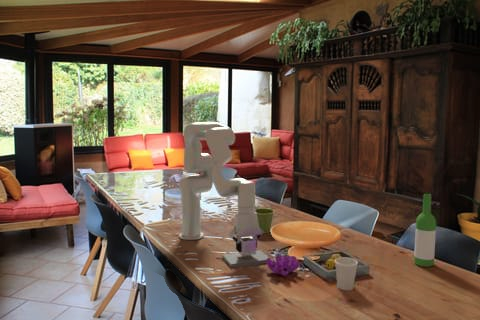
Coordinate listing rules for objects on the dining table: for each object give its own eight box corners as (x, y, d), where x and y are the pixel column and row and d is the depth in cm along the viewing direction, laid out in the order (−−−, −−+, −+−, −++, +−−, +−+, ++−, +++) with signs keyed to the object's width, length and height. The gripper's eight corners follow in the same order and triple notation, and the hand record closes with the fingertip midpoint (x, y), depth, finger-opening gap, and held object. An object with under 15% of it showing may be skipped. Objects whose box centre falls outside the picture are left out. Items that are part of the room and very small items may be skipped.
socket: (237, 251, 187) (237, 237, 186) (250, 249, 189) (250, 236, 188) (242, 256, 181) (242, 242, 180) (256, 254, 183) (256, 240, 182)
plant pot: (250, 234, 223) (250, 213, 222) (254, 227, 235) (254, 207, 233) (272, 235, 220) (272, 214, 219) (276, 229, 232) (276, 208, 230)
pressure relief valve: (321, 268, 174) (333, 262, 182) (348, 281, 167) (359, 274, 175) (323, 256, 173) (335, 250, 181) (350, 268, 166) (362, 261, 173)
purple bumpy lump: (267, 285, 168) (256, 262, 171) (292, 274, 178) (282, 253, 181) (284, 274, 160) (273, 251, 164) (309, 264, 171) (298, 242, 174)
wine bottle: (434, 263, 182) (438, 193, 178) (432, 269, 175) (436, 197, 172) (415, 259, 186) (418, 191, 182) (412, 265, 179) (415, 195, 175)
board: (222, 258, 188) (222, 244, 187) (260, 253, 194) (260, 240, 193) (230, 267, 177) (230, 253, 176) (271, 262, 183) (271, 248, 182)
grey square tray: (302, 263, 182) (302, 255, 181) (342, 258, 188) (342, 250, 188) (326, 280, 164) (326, 272, 163) (369, 274, 170) (369, 265, 169)
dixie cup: (329, 287, 158) (329, 260, 157) (341, 280, 164) (342, 255, 162) (349, 294, 152) (350, 267, 151) (361, 287, 158) (362, 261, 157)
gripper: (262, 206, 189) (261, 245, 191) (224, 209, 183) (224, 250, 185) (268, 210, 182) (268, 251, 184) (229, 213, 176) (230, 255, 178)
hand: (246, 250), depth 185 cm, fingers closed on socket, 6 cm apart
